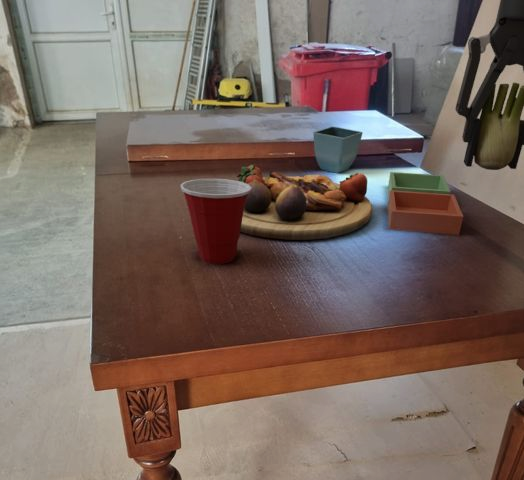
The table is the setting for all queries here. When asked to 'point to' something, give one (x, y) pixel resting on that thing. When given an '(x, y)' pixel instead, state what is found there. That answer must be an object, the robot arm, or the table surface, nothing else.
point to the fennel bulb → (499, 128)
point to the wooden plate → (303, 205)
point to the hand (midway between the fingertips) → (489, 165)
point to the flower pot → (336, 148)
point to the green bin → (418, 183)
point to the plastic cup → (216, 216)
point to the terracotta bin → (424, 212)
